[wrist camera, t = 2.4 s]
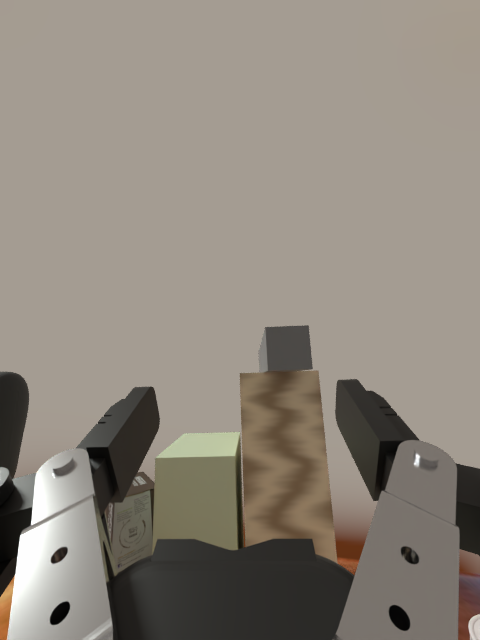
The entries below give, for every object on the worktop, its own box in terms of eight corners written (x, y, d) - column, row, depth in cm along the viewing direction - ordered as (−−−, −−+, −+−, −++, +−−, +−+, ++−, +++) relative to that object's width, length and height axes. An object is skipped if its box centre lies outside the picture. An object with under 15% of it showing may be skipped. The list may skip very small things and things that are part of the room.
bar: (267, 370, 23) (265, 327, 24) (259, 373, 49) (258, 352, 49) (312, 369, 23) (308, 325, 24) (280, 373, 48) (279, 351, 49)
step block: (147, 682, 27) (155, 457, 32) (182, 580, 41) (184, 433, 46) (241, 683, 27) (234, 455, 32) (244, 580, 41) (240, 432, 46)
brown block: (250, 694, 26) (239, 373, 33) (251, 575, 42) (243, 374, 49) (350, 695, 26) (318, 370, 33) (313, 575, 41) (296, 372, 48)
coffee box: (157, 619, 35) (161, 486, 38) (104, 649, 31) (114, 499, 35) (139, 578, 42) (143, 470, 45) (94, 599, 38) (103, 479, 42)
